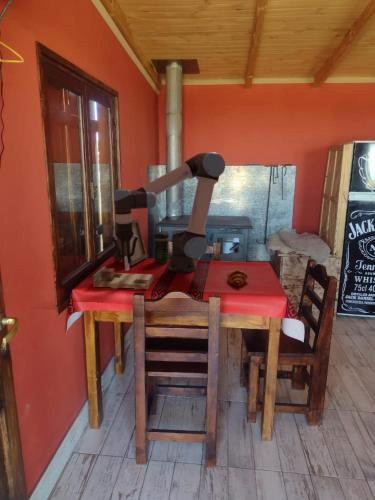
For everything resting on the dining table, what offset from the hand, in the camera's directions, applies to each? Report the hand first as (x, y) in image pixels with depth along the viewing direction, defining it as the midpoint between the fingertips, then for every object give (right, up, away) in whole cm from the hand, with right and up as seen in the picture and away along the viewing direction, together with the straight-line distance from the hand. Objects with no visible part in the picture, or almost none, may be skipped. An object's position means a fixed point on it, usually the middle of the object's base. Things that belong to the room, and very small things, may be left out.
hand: (127, 269), depth 176 cm
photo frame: (-6, +2, +42) cm, 42 cm away
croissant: (+55, -7, +7) cm, 56 cm away
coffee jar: (+14, +2, +42) cm, 44 cm away
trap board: (-2, -7, +2) cm, 7 cm away
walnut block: (-9, -5, -1) cm, 11 cm away
